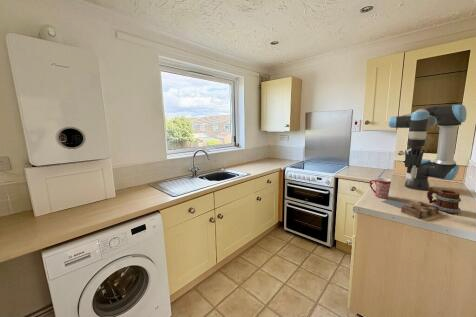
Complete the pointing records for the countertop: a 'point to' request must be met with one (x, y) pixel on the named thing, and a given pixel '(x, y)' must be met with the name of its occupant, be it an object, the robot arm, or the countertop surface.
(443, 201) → the mug
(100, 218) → the countertop surface
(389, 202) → the mat
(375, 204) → the countertop surface
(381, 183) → the mug
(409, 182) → the peg
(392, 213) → the countertop surface
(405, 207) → the hole block
